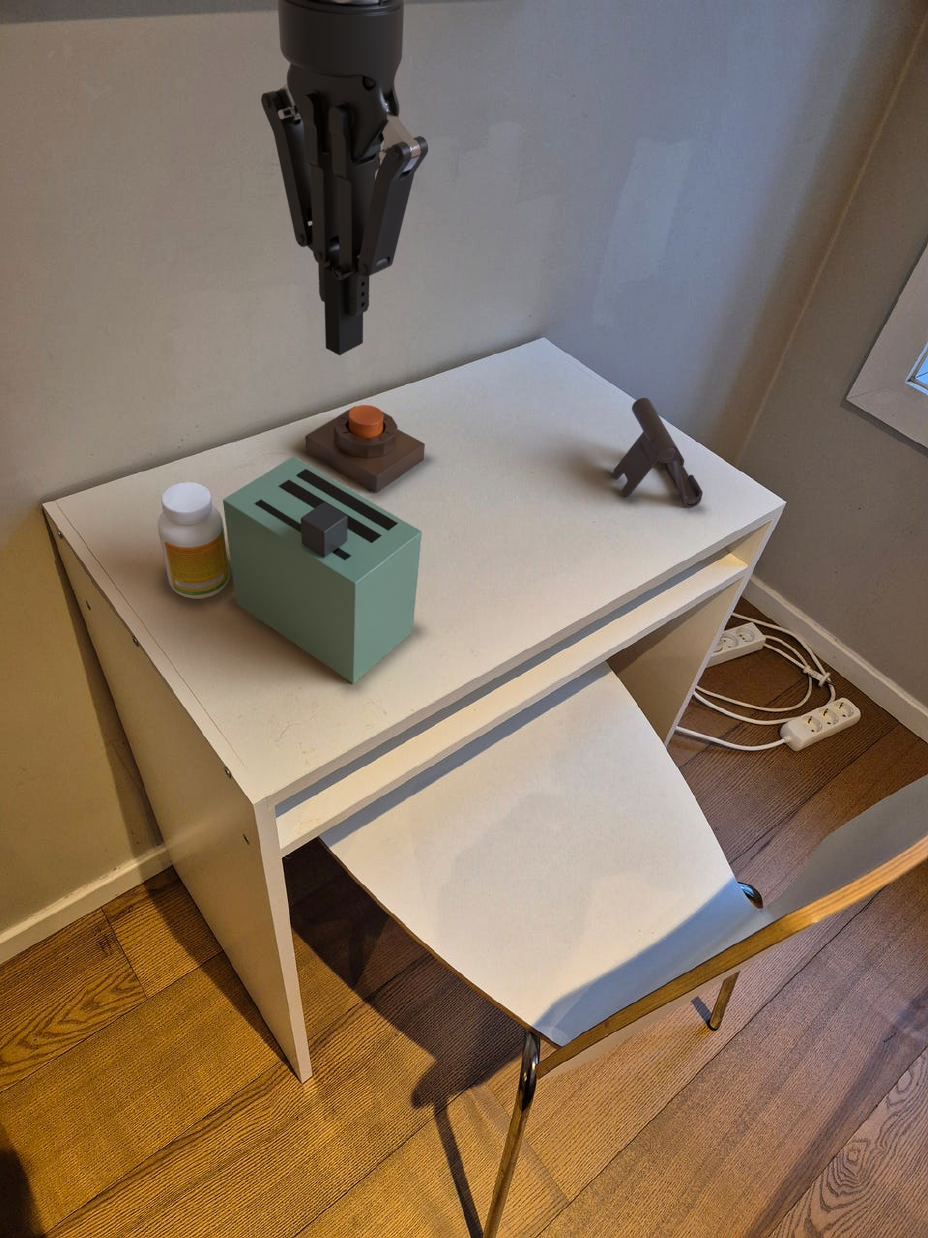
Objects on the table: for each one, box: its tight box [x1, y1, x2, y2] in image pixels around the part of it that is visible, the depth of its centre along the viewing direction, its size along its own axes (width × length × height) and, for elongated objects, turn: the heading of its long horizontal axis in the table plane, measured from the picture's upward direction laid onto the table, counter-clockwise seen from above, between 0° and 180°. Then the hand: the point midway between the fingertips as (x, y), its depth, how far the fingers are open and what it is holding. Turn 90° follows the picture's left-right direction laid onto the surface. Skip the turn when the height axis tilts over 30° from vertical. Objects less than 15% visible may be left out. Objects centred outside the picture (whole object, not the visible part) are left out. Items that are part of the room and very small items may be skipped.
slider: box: [301, 502, 347, 557], centre depth 65 cm, size 2×3×3 cm
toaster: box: [222, 456, 423, 685], centre depth 73 cm, size 14×8×12 cm, turn 53°
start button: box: [349, 404, 383, 438], centre depth 90 cm, size 4×4×2 cm
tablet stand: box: [612, 397, 704, 509], centre depth 93 cm, size 9×8×8 cm
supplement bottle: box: [157, 481, 231, 600], centre depth 75 cm, size 5×5×10 cm
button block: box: [304, 405, 426, 494], centre depth 92 cm, size 10×8×4 cm
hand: (344, 345), depth 68 cm, fingers closed
